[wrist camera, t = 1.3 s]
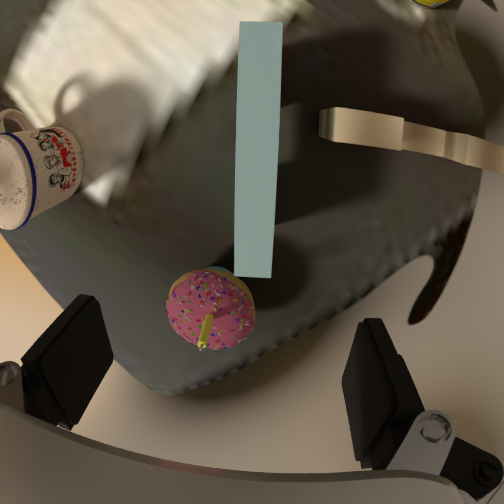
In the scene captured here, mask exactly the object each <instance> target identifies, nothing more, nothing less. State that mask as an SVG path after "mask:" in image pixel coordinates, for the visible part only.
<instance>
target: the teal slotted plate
mask: <svg viewBox="0 0 504 504" xmlns="http://www.w3.org/2000/svg"><path fill="white" fill-rule="evenodd" d="M282 25H283V23H282V22H240V30H239V56H238V85H237V120H236V164H235V234H234V276H241V277H259V278H271V269H272V254H273V238H274V221H275V203H276V185H277V165H278V144H279V120H280V94H281V64H282Z"/></svg>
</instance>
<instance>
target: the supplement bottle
mask: <svg viewBox="0 0 504 504" xmlns="http://www.w3.org/2000/svg"><path fill="white" fill-rule="evenodd" d="M409 1H411V2H412V3H414V4H415V5H418V6H420V7H423V8H435V7H437V6H439V5H441V4H443V3H445V2H447V1H449V0H409Z"/></svg>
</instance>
